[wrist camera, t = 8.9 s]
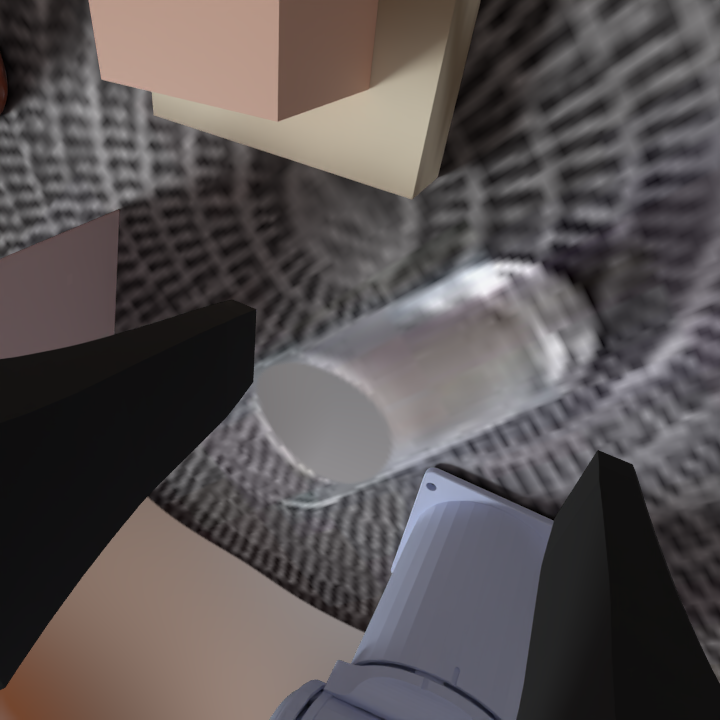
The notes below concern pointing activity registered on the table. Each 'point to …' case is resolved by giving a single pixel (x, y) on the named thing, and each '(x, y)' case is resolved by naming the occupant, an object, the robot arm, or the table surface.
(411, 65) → the birch block
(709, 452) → the table surface
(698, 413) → the table surface
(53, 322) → the greeting card
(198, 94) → the terracotta cube
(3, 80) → the supplement bottle
